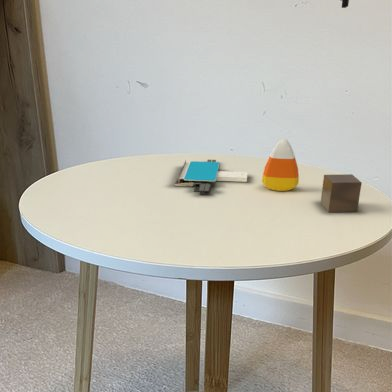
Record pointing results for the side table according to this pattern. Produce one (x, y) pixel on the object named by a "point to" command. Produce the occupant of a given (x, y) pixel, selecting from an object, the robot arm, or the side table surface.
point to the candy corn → (281, 168)
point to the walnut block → (340, 193)
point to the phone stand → (205, 175)
